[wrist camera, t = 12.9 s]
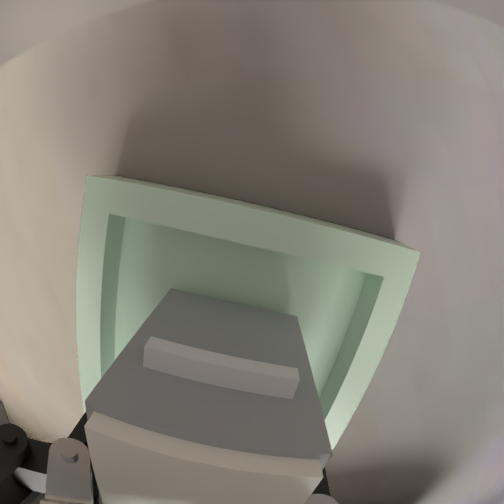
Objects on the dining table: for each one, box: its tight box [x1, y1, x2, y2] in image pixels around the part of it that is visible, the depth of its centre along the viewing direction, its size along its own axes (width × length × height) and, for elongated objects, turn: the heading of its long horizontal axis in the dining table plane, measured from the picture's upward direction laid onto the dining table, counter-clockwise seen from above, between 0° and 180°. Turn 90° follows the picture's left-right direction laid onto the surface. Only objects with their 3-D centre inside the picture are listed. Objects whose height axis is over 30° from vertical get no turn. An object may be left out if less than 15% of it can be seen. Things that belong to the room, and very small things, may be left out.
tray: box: [76, 175, 421, 450], centre depth 13 cm, size 12×15×2 cm
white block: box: [84, 288, 333, 504], centre depth 9 cm, size 5×9×8 cm, turn 167°
